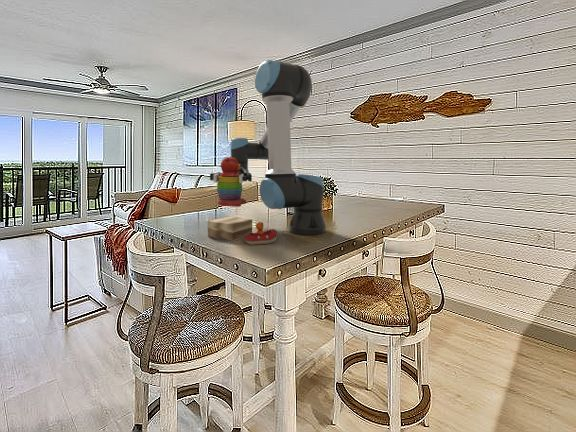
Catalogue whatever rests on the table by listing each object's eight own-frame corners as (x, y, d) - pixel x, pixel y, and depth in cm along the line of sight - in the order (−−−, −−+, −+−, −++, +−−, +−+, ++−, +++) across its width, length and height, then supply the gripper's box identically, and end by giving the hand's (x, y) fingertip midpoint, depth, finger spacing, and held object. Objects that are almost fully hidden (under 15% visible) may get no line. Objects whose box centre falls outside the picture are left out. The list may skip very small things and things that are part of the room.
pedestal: (252, 234, 141) (252, 219, 140) (232, 240, 131) (232, 224, 130) (228, 231, 147) (228, 216, 146) (207, 236, 137) (207, 221, 136)
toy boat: (279, 244, 128) (279, 223, 126) (247, 246, 124) (247, 225, 122) (272, 239, 135) (272, 219, 133) (242, 241, 131) (242, 221, 129)
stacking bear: (239, 207, 131) (239, 157, 128) (212, 205, 133) (211, 156, 129) (247, 203, 141) (247, 157, 138) (222, 201, 143) (222, 156, 140)
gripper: (261, 184, 154) (256, 189, 131) (211, 183, 154) (198, 188, 131) (261, 166, 152) (257, 169, 130) (210, 165, 152) (197, 167, 130)
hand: (227, 179), depth 131 cm, fingers closed on stacking bear, 9 cm apart
